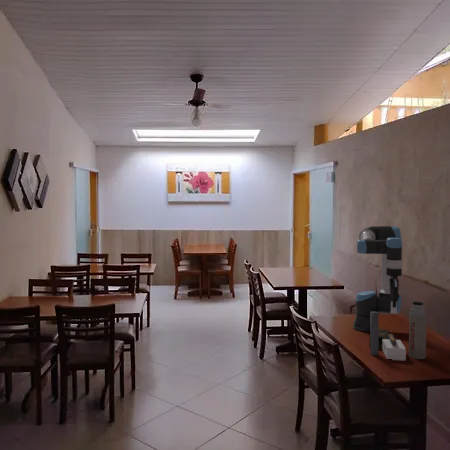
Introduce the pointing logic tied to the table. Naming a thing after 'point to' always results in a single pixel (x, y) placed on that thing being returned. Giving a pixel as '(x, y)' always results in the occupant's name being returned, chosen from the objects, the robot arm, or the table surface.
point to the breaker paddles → (392, 339)
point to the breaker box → (394, 350)
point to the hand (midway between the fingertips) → (393, 313)
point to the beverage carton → (382, 336)
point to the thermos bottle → (417, 331)
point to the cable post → (374, 333)
